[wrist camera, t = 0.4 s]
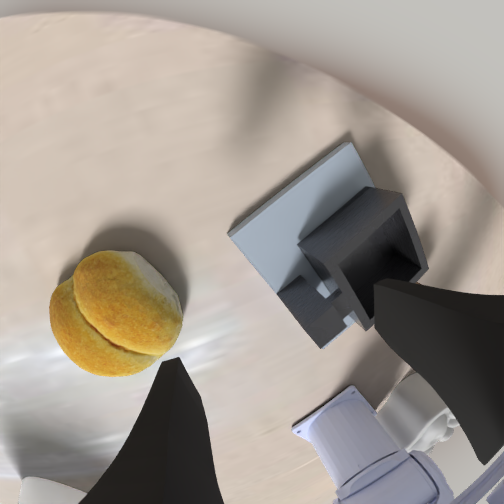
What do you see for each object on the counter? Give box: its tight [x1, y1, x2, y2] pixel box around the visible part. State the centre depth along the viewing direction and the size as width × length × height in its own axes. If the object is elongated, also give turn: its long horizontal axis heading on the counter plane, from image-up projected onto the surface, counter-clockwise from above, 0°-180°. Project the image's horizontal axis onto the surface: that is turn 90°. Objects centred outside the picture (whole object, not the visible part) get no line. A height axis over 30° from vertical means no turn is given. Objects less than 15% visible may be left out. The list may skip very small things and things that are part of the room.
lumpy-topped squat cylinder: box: [375, 372, 460, 455], centre depth 28 cm, size 10×13×9 cm
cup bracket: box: [277, 186, 429, 349], centre depth 17 cm, size 6×9×4 cm
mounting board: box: [227, 142, 375, 349], centre depth 20 cm, size 12×10×1 cm
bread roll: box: [49, 250, 183, 377], centre depth 16 cm, size 8×9×4 cm
